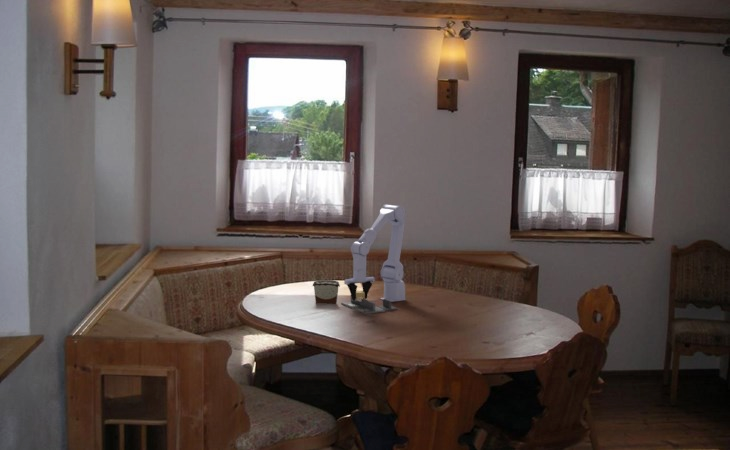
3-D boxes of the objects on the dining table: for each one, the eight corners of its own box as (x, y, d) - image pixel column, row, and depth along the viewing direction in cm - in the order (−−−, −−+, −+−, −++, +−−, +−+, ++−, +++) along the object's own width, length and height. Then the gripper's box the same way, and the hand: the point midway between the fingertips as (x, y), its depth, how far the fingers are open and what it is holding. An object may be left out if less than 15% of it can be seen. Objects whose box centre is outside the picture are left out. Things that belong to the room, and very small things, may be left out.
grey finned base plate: (388, 306, 345) (388, 297, 344) (397, 309, 339) (397, 300, 338) (377, 307, 341) (377, 299, 341) (385, 311, 335) (385, 302, 335)
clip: (354, 298, 345) (354, 290, 344) (363, 298, 346) (363, 290, 345) (355, 300, 341) (355, 292, 341) (364, 300, 342) (364, 292, 341)
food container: (341, 301, 353) (341, 280, 352) (339, 304, 347) (339, 282, 346) (314, 300, 354) (314, 279, 353) (312, 303, 348) (312, 281, 347)
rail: (360, 302, 353) (360, 291, 352) (385, 311, 335) (385, 300, 334) (341, 304, 347) (341, 293, 347) (365, 314, 330) (365, 302, 329)
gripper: (369, 266, 349) (368, 295, 350) (341, 268, 341) (340, 298, 343) (377, 268, 343) (376, 298, 345) (349, 271, 335) (348, 302, 337)
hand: (359, 299), depth 343 cm, fingers closed on clip, 5 cm apart
